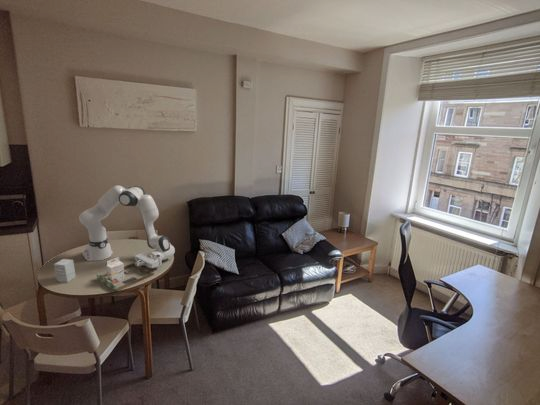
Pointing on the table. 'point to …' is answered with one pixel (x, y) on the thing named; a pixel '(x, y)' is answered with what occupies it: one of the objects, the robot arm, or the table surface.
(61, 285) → the table surface
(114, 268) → the ink cartridge box
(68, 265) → the supplement box
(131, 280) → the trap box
